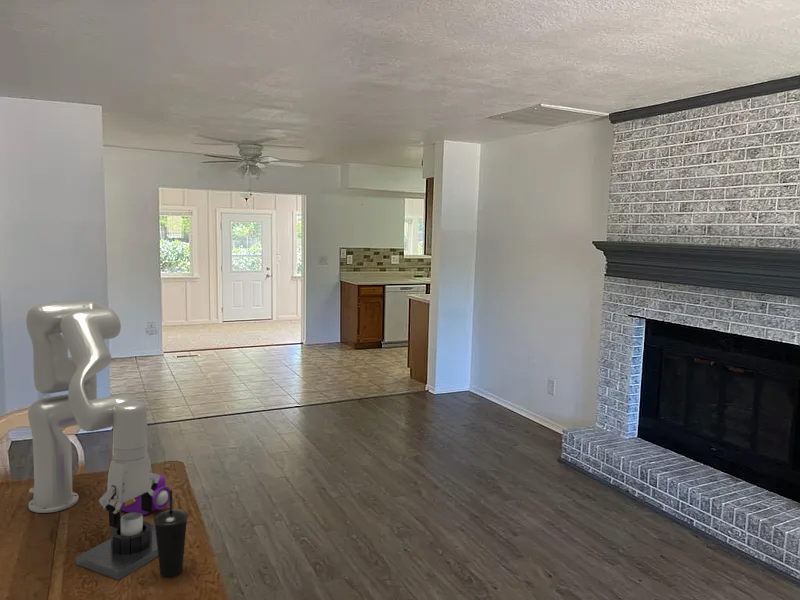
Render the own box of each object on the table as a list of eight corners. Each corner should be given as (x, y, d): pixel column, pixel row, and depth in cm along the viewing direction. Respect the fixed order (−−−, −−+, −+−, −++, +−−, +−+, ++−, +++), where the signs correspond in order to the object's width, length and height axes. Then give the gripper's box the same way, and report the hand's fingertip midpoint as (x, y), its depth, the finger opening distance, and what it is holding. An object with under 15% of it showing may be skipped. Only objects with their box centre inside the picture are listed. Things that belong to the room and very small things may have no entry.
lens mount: (76, 564, 143) (75, 540, 142) (143, 528, 161) (142, 507, 161) (118, 580, 137) (118, 555, 137) (182, 541, 156) (182, 519, 155)
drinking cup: (177, 559, 147) (177, 481, 145) (194, 571, 142) (194, 490, 140) (147, 572, 141) (146, 490, 139) (164, 585, 136) (164, 500, 134)
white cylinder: (115, 546, 148) (116, 517, 147) (131, 538, 152) (131, 510, 152) (131, 550, 146) (132, 521, 146) (146, 542, 151) (147, 513, 150)
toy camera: (157, 521, 166) (157, 486, 165) (114, 514, 169) (113, 480, 168) (179, 504, 177) (179, 471, 176) (138, 498, 179) (137, 466, 178)
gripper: (147, 439, 156) (147, 502, 158) (88, 460, 140) (90, 530, 142) (168, 444, 153) (169, 508, 155) (111, 466, 137) (112, 537, 139)
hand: (131, 518), depth 148 cm, fingers open, 9 cm apart
